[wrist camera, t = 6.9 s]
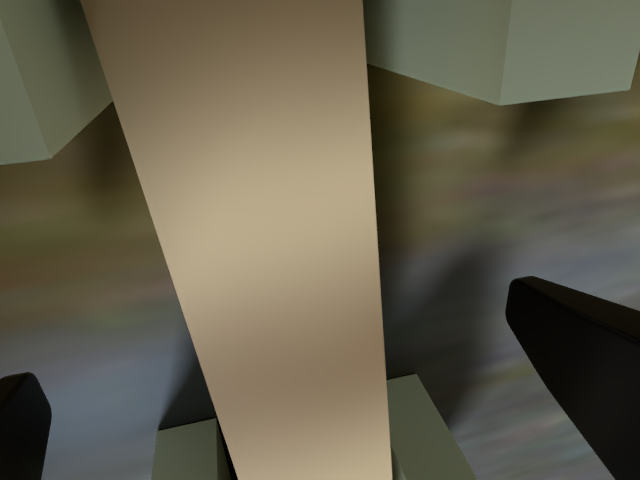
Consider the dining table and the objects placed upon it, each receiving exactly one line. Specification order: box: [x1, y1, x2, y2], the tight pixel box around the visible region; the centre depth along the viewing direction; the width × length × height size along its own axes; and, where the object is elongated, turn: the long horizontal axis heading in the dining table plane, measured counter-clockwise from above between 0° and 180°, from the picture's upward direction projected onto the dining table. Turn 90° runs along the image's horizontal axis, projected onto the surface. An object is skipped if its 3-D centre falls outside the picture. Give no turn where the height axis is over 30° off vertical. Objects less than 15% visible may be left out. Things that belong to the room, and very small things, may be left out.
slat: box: [80, 0, 392, 480], centre depth 9 cm, size 15×3×4 cm, turn 7°
